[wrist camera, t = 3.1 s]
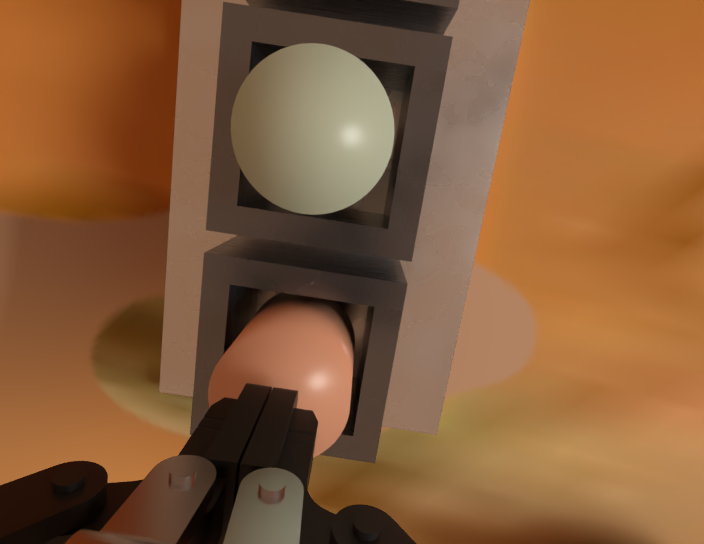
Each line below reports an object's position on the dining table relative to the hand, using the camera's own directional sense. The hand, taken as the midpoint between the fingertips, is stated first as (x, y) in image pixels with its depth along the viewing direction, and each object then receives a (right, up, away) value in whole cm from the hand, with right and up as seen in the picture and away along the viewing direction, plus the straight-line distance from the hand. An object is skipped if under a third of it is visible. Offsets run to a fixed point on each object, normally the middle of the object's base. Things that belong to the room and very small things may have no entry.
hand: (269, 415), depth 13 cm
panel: (+2, +10, +8) cm, 13 cm away
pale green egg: (+1, +9, +4) cm, 10 cm away
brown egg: (0, +1, +6) cm, 6 cm away
